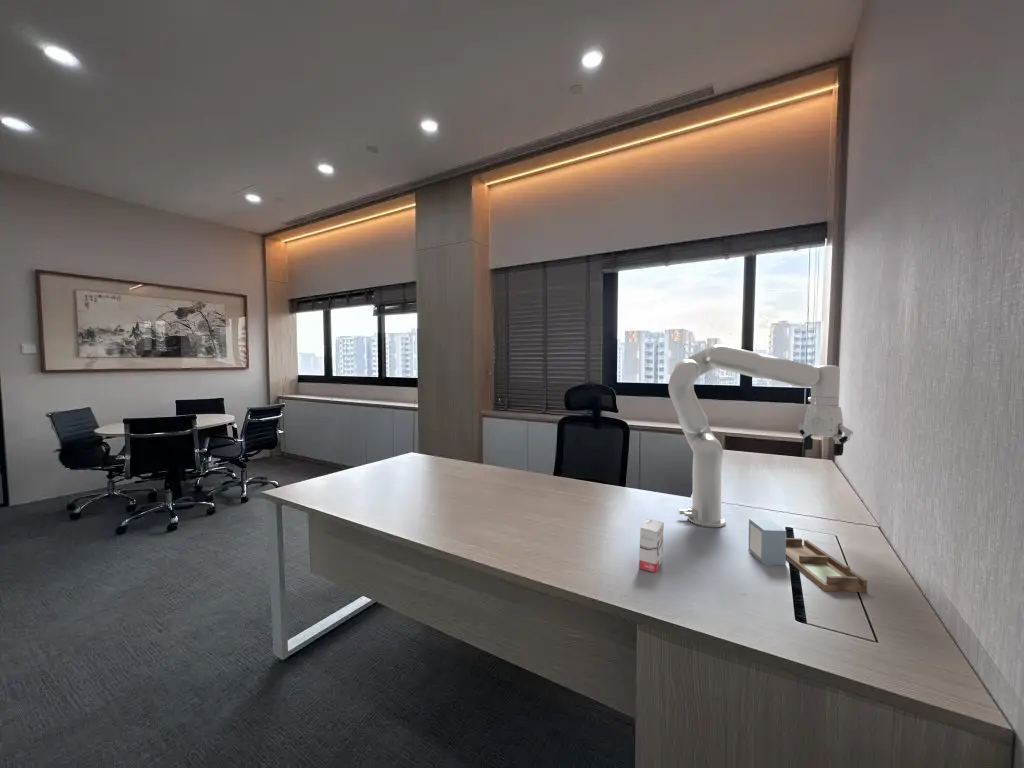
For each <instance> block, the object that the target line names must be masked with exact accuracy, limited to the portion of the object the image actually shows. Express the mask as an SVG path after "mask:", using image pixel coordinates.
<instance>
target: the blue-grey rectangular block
mask: <svg viewBox="0 0 1024 768" xmlns="http://www.w3.org/2000/svg"><path fill="white" fill-rule="evenodd" d="M786 538H787V530H786V529H784V528H783V527H781V526H780V525H779V524H778V523H776V522H774V521H773V520H771V518H748V552H750V553H751V554H752V556H754V557H755V558H756V559H757V560H758V561H759V562H761V563H762V565H769V566H770V565H773V566H774V565H777V566H786V564H787V563H786V561H787V560H786Z"/></svg>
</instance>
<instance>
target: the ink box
mask: <svg viewBox="0 0 1024 768" xmlns="http://www.w3.org/2000/svg"><path fill="white" fill-rule="evenodd" d="M664 527H665V526H664V522H663V521H660V520H655V519H646V520H645V521H644V523H643V524H642V525H641V526H640V529H639V531H640V532H639V536H640V537H639V555H638V556H639V558H638V559H639V560H638V569H640V570H643V571H648V572H652V573H657V571H658V570H659V567H660V565H661V564H662V563H663V558H664V557H663V553H664V552H663V550H664Z"/></svg>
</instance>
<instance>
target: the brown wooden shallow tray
mask: <svg viewBox="0 0 1024 768" xmlns="http://www.w3.org/2000/svg"><path fill="white" fill-rule="evenodd" d="M786 561H787V562H789V564H790V565H792V566H793V567H795V568H796V569H797V570H798V571H800V572H801V573H802V574H803V575H804V576H806V578H808V579H810V580H811V581H812V582H813V583H814V584H815V585H817V586H818V587H819V588H820V589H822V590H823V591H824V592H850V593H867V592H868V591H867V589H868V588H867V587H868V580H867V579H866V578H864V577H863V576H861V575H860V574H859V573H857V572H855V571H853V570H852V569H851V566H850V565H847V564H844V563H842V562H840V561H839V560H837V558H835V557H834V556H832V555H830V554H829V553H827V552H826V551H824V550H823V549H822V548H820V547H818V546H817V545H816V544H814V543H812V542H811V541H809V540H808V539H804V540H803V539H802V538H797V537H796V538H793V537H786Z"/></svg>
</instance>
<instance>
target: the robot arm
mask: <svg viewBox="0 0 1024 768" xmlns="http://www.w3.org/2000/svg"><path fill="white" fill-rule="evenodd" d="M716 369H718V370H724V371H726V372H730V373H735V374H740V375H742V376H747V377H752V378H757V379H765V380H772V381H775V382H776V381H777V382H780V383H781V382H782V383H785V384H788V385H790V386H792V387H800V388H805V389H806V388H810V389H811V391H810V397H808V398H807V401H808V402H810V404H808V405H807V408H806V412H805V416H804V421H802V422H800V423H797V425H796V426H797V428H798V431H799V432H798V433H800V434H801V435H802V438H803V446H804V447H803V448H804V450H805V451H810V450H813V449H814V448H813V446H814V438H813V436H818V437H819V436H820V437H826V438H832V440H834V442H835V443H833V456H835V457H837V456H843V454H844V447H845V445H844V444H846V442H848V441H849V440H850V439H851V438H852V436H853V434H854V432H853V431H852V430H851V429H849V428H847V427H846V426H844V421H843V413H842V408H841V406H840V380H841V370H840V366H837V365H835V364H834V365H829V364H828V365H827V364H825V365H822V364H821V365H820V364H819V365H814V366H813V365H811V364H808V363H804V362H798V361H795V360H790V359H785V358H782V357H781V358H779V357H777V356H772V355H768V354H764V353H760V352H756V351H751V350H746V349H742V348H738V347H734V346H728V345H725V344H713V345H710V346H708V347H706V348H704V349H703V350H700V351H699V352H697V353H694V354H692V355H690V356H688V357H686V358H683V359H682V360H679V361H678V362H677V363H676V364H675V365H674V368H673V371H672V373H671V374H670V377H669V380H668V386H667V388H668V394H669V397H670V399H671V401H672V405H673V407H674V409H675V411H676V414H677V417H678V418H677V419H678V423H679V426H680V427H681V431H682V432H683V434H684V436H685V438H686V441H687V443H688V445H689V446H690V449H691V451H692V453H693V454H692V456H693V457H692V500H691V501H692V504H691V505H690V506H689V508H687V509H686V508H685V509H684V508H679V509H678V514H679V515H684V516H685V517H687V519H689V520H690V521H691V522H690V521H689V520H688V521H689V522H690V523H692V522H693V523H692V524H694V523H695V525H697V524H698V526H700V525H701V527H705V526H706V528H721V527H724V526H726V523H727V521H726V518H724V517H723V516H722V466H723V458H724V450H723V446H722V444H721V442H720V440H719V439H718V438H716V437H715V435H714V433H713V430H712V428H711V427H710V425H709V420H708V416H707V414H706V413H705V411H704V409H703V407H702V405H701V403H700V401H699V399H698V396H697V395H696V392H695V382H696V381H697V380H698V379H699V377H701V376H704V375H705V374H707V373H709V372H712V371H713V370H716ZM843 433H844V435H843Z"/></svg>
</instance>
